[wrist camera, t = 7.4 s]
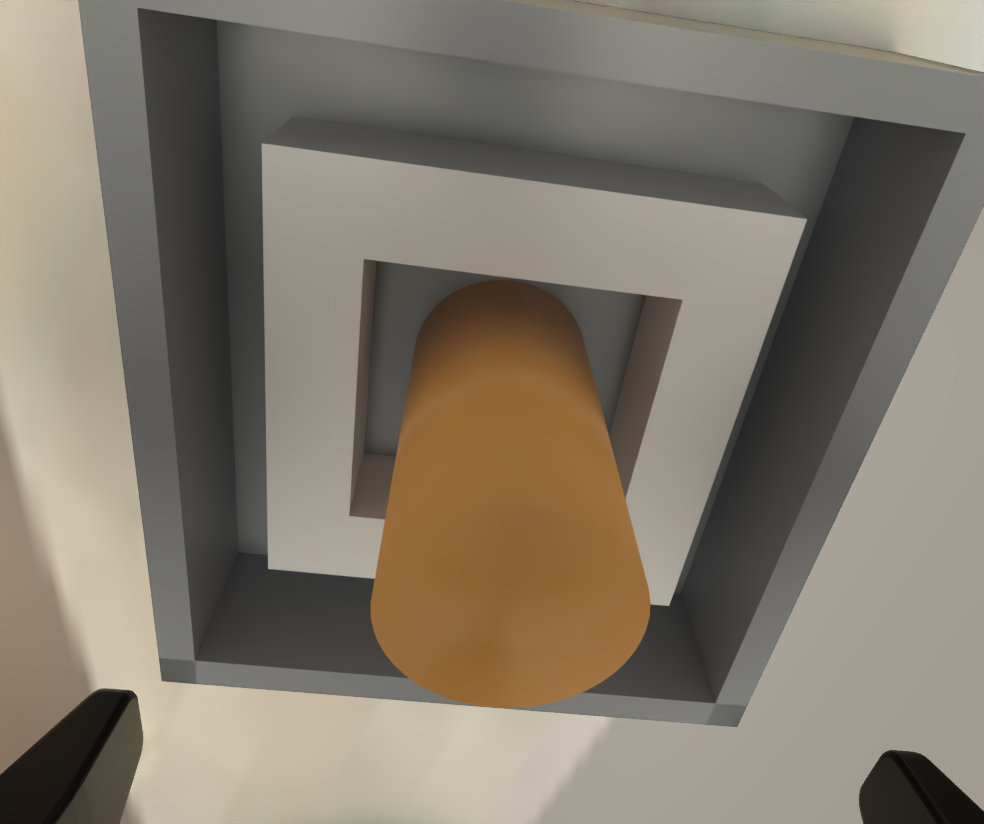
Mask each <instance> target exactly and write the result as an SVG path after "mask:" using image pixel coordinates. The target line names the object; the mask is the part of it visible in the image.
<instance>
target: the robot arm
mask: <svg viewBox="0 0 984 824" xmlns="http://www.w3.org/2000/svg"><path fill="white" fill-rule="evenodd" d="M142 746H143V730H142V724H141V717H140V711H139V704H138V699H137V695H136V694H135V693H134V692H133V691H130V690H119V689H106V688H104V689H99V690H97V691H94V692H93V693H91V694H90V695H89V696H88V697H87V698H86V699H84V701H82V702H81V703H80V704H79V705H78V706H77V707H76V708H74V709H73V710H72V711H71V712H70V713H69V714H68V715H67V716H65V717H64V718H63V719H62V720H61V721H60V722H59V723H58V724H57V725H56V726H55V727H53V728H52V729H51V730H50V731H49V732H48V733H46V734H45V735H44V736H43V737H42V738H41V739H40V740H39V741H38V742H36V744H34V745H33V746H32V747H31V748H30V749H29V750H28V751H26V752H25V753H24V754H23V755H22V756H21V757H20V758H19V759H17V760H16V761H15V762H14V763H13V764H12V765H11V766H10V767H8V768H7V769H6V770H5V771H4V772H3V773H2V774H1V775H0V824H119V823H120V821H121V817H122V814H123V811H124V808H125V805H126V801H127V798H128V795H129V792H130V788H131V785H132V782H133V779H134V775H135V772H136V769H137V766H138V763H139V759H140V756H141V751H142ZM859 807H860V812H861V816H862V820H863V824H984V811H983V810H982V809H981V808H980V807H979V806H978V805H977V804H975V803H974V802H973V801H972V800H971V799H970V798H969V797H968V796H967V795H966V794H965V793H964V792H963V791H962V790H961V789H960V788H958V787H957V786H956V785H955V784H954V783H953V782H952V781H951V780H950V779H949V778H948V777H947V776H946V775H945V774H944V773H943V772H942V771H940V770H939V769H938V768H937V767H936V766H935V765H934V764H933V763H932V762H931V761H930V760H929V759H927V758H926V757H925V756H923V755H921V754H919V753H916V752H909V751H897V750H890V751H887V752H885V753H883V754H882V756H881V757H880V758H879V760H878V761H877V763H876V764H875V766H874V768H873V769H872V771H871V772H870V774H869V775H868V777H867V778H866V780H865V781H864V783H863V785H862V787H861V789H860V793H859Z"/></svg>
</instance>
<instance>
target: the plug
mask: <svg viewBox="0 0 984 824" xmlns="http://www.w3.org/2000/svg"><path fill="white" fill-rule="evenodd" d="M650 604H651V602H650V593H649V587H648V584H647V580H646V576H645V572H644V568H643V564H642V561H641V557H640V553H639V549H638V545H637V542H636V538H635V534H634V530H633V526H632V522H631V519H630V515H629V511H628V507H627V503H626V500H625V496H624V492H623V488H622V484H621V481H620V477H619V473H618V469H617V465H616V461H615V458H614V454H613V450H612V446H611V442H610V439H609V435H608V431H607V427H606V423H605V419H604V416H603V412H602V408H601V404H600V400H599V397H598V393H597V389H596V385H595V381H594V377H593V374H592V370H591V366H590V362H589V358H588V355H587V351H586V347H585V343H584V340H583V336H582V333H581V330H580V328H579V326H578V324H577V322H576V320H575V319H574V317H573V315H572V314H571V313H570V311H569V310H568V309H567V308H566V307H565V306H564V305H563V304H562V303H561V302H560V301H559V300H557V299H556V298H555V297H554V296H552V295H551V294H549V293H547V292H546V291H544V290H542V289H540V288H538V287H535V286H532V285H529V284H526V283H522V282H517V281H510V280H491V281H484V282H479V283H475V284H472V285H469V286H466V287H464V288H462V289H459V290H457V291H455V292H454V293H452V294H451V295H449V296H447V297H446V298H445V299H443V300H442V301H441V302H440V303H439V304H438V305H437V306H436V307H435V308H434V309H433V310H432V311H431V312H430V313H429V315H428V316H427V318H426V319H425V321H424V322H423V324H422V327H421V329H420V331H419V333H418V336H417V340H416V344H415V350H414V356H413V362H412V367H411V373H410V379H409V385H408V390H407V396H406V402H405V408H404V413H403V419H402V425H401V431H400V436H399V442H398V448H397V454H396V459H395V465H394V471H393V477H392V482H391V488H390V494H389V500H388V506H387V511H386V517H385V523H384V529H383V534H382V540H381V546H380V552H379V557H378V563H377V569H376V575H375V580H374V586H373V592H372V598H371V621H372V626H373V630H374V633H375V636H376V638H377V641H378V643H379V645H380V646H381V648H382V650H383V651H384V653H385V655H386V656H387V657H388V658H389V660H390V661H391V662H392V663H393V664H394V665H395V666H396V667H397V668H398V669H399V670H400V671H401V672H402V673H403V674H404V675H406V676H407V677H408V678H410V679H411V680H412V681H414V682H415V683H417V684H418V685H420V686H422V687H424V688H426V689H427V690H429V691H431V692H434V693H436V694H438V695H441V696H443V697H446V698H449V699H452V700H455V701H458V702H462V703H467V704H472V705H477V706H485V707H496V708H518V707H530V706H537V705H543V704H548V703H552V702H557V701H560V700H563V699H566V698H569V697H572V696H575V695H577V694H579V693H582V692H584V691H586V690H588V689H590V688H592V687H594V686H596V685H597V684H599V683H601V682H602V681H604V680H605V679H607V678H608V677H609V676H611V675H612V674H614V673H615V672H616V671H617V670H618V669H619V668H620V667H621V666H623V665H624V664H625V663H626V661H627V660H628V659H629V658H630V657H631V656H632V654H633V653H634V652H635V650H636V649H637V647H638V645H639V644H640V642H641V640H642V638H643V636H644V633H645V631H646V629H647V625H648V621H649V617H650Z"/></svg>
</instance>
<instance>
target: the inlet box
mask: <svg viewBox="0 0 984 824" xmlns="http://www.w3.org/2000/svg"><path fill="white" fill-rule="evenodd" d="M78 2H79V10H80V18H81V26H82V34H83V42H84V51H85V59H86V67H87V75H88V83H89V91H90V99H91V108H92V116H93V124H94V132H95V140H96V148H97V156H98V165H99V173H100V181H101V189H102V197H103V205H104V213H105V222H106V230H107V238H108V246H109V254H110V262H111V270H112V279H113V287H114V295H115V303H116V311H117V319H118V328H119V336H120V344H121V352H122V360H123V368H124V376H125V385H126V393H127V401H128V409H129V417H130V425H131V433H132V442H133V450H134V458H135V466H136V474H137V482H138V490H139V499H140V507H141V515H142V523H143V531H144V539H145V547H146V556H147V564H148V572H149V580H150V588H151V596H152V605H153V613H154V621H155V629H156V637H157V645H158V653H159V662H160V670H161V678H162V681H166V682H179V683H191V684H204V685H216V686H229V687H241V688H254V689H267V690H279V691H292V692H304V693H317V694H329V695H342V696H354V697H367V698H379V699H392V700H404V701H417V702H430V703H442V704H455V705H467V706H477V705H472V704H467V703H462V702H458V701H455V700H452V699H449V698H446V697H443V696H441V695H438V694H436V693H434V692H431V691H429V690H427V689H426V688H424V687H422V686H420V685H418V684H417V683H415V682H414V681H412V680H411V679H410V678H408V677H407V676H406V675H404V674H403V673H402V672H401V671H400V670H399V669H398V668H397V667H396V666H395V665H394V664H393V663H392V662H391V661H390V660H389V658H388V657H387V656H386V655H385V653H384V651H383V650H382V648H381V646H380V645H379V643H378V641H377V638H376V636H375V633H374V630H373V626H372V621H371V598H372V592H373V586H374V580H375V575H376V569H377V563H378V557H379V552H380V546H381V540H382V534H383V529H384V523H385V517H386V511H387V506H388V500H389V494H390V488H391V482H392V477H393V471H394V465H395V459H396V454H397V448H398V442H399V436H400V431H401V425H402V419H403V413H404V408H405V402H406V396H407V390H408V385H409V379H410V373H411V367H412V362H413V356H414V350H415V344H416V340H417V336H418V333H419V331H420V329H421V327H422V324H423V322H424V321H425V319H426V318H427V316H428V315H429V313H430V312H431V311H432V310H433V309H434V308H435V307H436V306H437V305H438V304H439V303H440V302H441V301H442V300H443V299H445V298H446V297H447V296H449V295H451V294H452V293H454V292H455V291H457V290H459V289H462V288H464V287H466V286H469V285H472V284H475V283H479V282H484V281H491V280H510V281H517V282H522V283H526V284H529V285H532V286H535V287H538V288H540V289H542V290H544V291H546V292H547V293H549V294H551V295H552V296H554V297H555V298H556V299H557V300H559V301H560V302H561V303H562V304H563V305H564V306H565V307H566V308H567V309H568V310H569V311H570V313H571V314H572V315H573V317H574V319H575V320H576V322H577V324H578V326H579V328H580V330H581V333H582V336H583V340H584V343H585V347H586V351H587V355H588V358H589V362H590V366H591V370H592V374H593V377H594V381H595V385H596V389H597V393H598V397H599V400H600V404H601V408H602V412H603V416H604V419H605V423H606V427H607V431H608V435H609V439H610V442H611V446H612V450H613V454H614V458H615V461H616V465H617V469H618V473H619V477H620V481H621V484H622V488H623V492H624V496H625V500H626V503H627V507H628V511H629V515H630V519H631V522H632V526H633V530H634V534H635V538H636V542H637V545H638V549H639V553H640V557H641V561H642V564H643V568H644V572H645V576H646V580H647V584H648V587H649V593H650V602H651V604H650V617H649V621H648V625H647V629H646V631H645V633H644V636H643V638H642V640H641V642H640V644H639V645H638V647H637V649H636V650H635V652H634V653H633V654H632V656H631V657H630V658H629V659H628V660H627V661H626V663H625V664H624V665H623V666H621V667H620V668H619V669H618V670H617V671H616V672H615V673H614V674H612V675H611V676H609V677H608V678H607V679H605V680H604V681H602V682H601V683H599V684H597V685H596V686H594V687H592V688H590V689H588V690H586V691H584V692H582V693H579V694H577V695H575V696H572V697H569V698H566V699H563V700H560V701H557V702H552V703H548V704H543V705H537V706H530V707H518V708H505V709H517V710H530V711H542V712H555V713H567V714H580V715H593V716H605V717H618V718H630V719H643V720H655V721H668V722H682V723H693V724H706V725H718V726H730V727H737V726H738V724H739V722H740V720H741V717H742V715H743V713H744V711H745V709H746V707H747V705H748V703H749V701H750V699H751V696H752V694H753V692H754V690H755V688H756V686H757V684H758V682H759V679H760V677H761V675H762V673H763V671H764V669H765V667H766V665H767V662H768V660H769V658H770V656H771V654H772V652H773V650H774V648H775V646H776V644H777V641H778V639H779V637H780V635H781V633H782V631H783V629H784V627H785V625H786V622H787V620H788V618H789V616H790V614H791V612H792V609H793V608H794V606H795V603H796V601H797V599H798V597H799V595H800V593H801V591H802V589H803V586H804V584H805V582H806V580H807V578H808V576H809V574H810V572H811V570H812V567H813V565H814V563H815V561H816V559H817V557H818V555H819V553H820V550H821V548H822V546H823V544H824V542H825V540H826V538H827V536H828V534H829V531H830V529H831V527H832V525H833V523H834V521H835V519H836V517H837V515H838V512H839V511H840V508H841V506H842V504H843V502H844V500H845V498H846V496H847V494H848V492H849V489H850V487H851V485H852V483H853V481H854V479H855V477H856V475H857V472H858V470H859V468H860V466H861V464H862V462H863V460H864V458H865V456H866V454H867V451H868V449H869V447H870V445H871V443H872V441H873V439H874V437H875V434H876V432H877V430H878V428H879V426H880V424H881V422H882V420H883V418H884V415H885V413H886V411H887V409H888V407H889V405H890V403H891V401H892V398H893V397H894V394H895V392H896V390H897V388H898V386H899V384H900V382H901V380H902V377H903V375H904V373H905V371H906V369H907V367H908V365H909V363H910V361H911V358H912V356H913V354H914V352H915V350H916V348H917V346H918V344H919V342H920V339H921V337H922V335H923V333H924V331H925V329H926V327H927V325H928V323H929V320H930V318H931V316H932V314H933V312H934V310H935V308H936V305H937V303H938V301H939V299H940V297H941V295H942V293H943V291H944V289H945V287H946V285H947V282H948V280H949V278H950V276H951V274H952V272H953V270H954V268H955V266H956V263H957V261H958V259H959V257H960V255H961V253H962V251H963V249H964V247H965V244H966V242H967V240H968V238H969V236H970V234H971V232H972V230H973V227H974V225H975V223H976V221H977V219H978V217H979V215H980V213H981V211H982V209H983V206H984V72H979V71H975V70H971V69H966V68H962V67H957V66H953V65H949V64H944V63H940V62H936V61H931V60H927V59H923V58H918V57H914V56H910V55H905V54H901V53H896V52H890V51H883V50H877V49H871V48H865V47H858V46H852V45H846V44H840V43H833V42H827V41H821V40H815V39H808V38H802V37H796V36H789V35H783V34H777V33H771V32H764V31H758V30H752V29H746V28H739V27H733V26H727V25H721V24H714V23H708V22H702V21H696V20H689V19H683V18H677V17H671V16H664V15H658V14H652V13H646V12H639V11H633V10H627V9H621V8H614V7H608V6H602V5H596V4H589V3H583V2H577V1H571V0H78ZM480 707H485V706H480ZM492 708H496V707H492Z"/></svg>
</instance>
